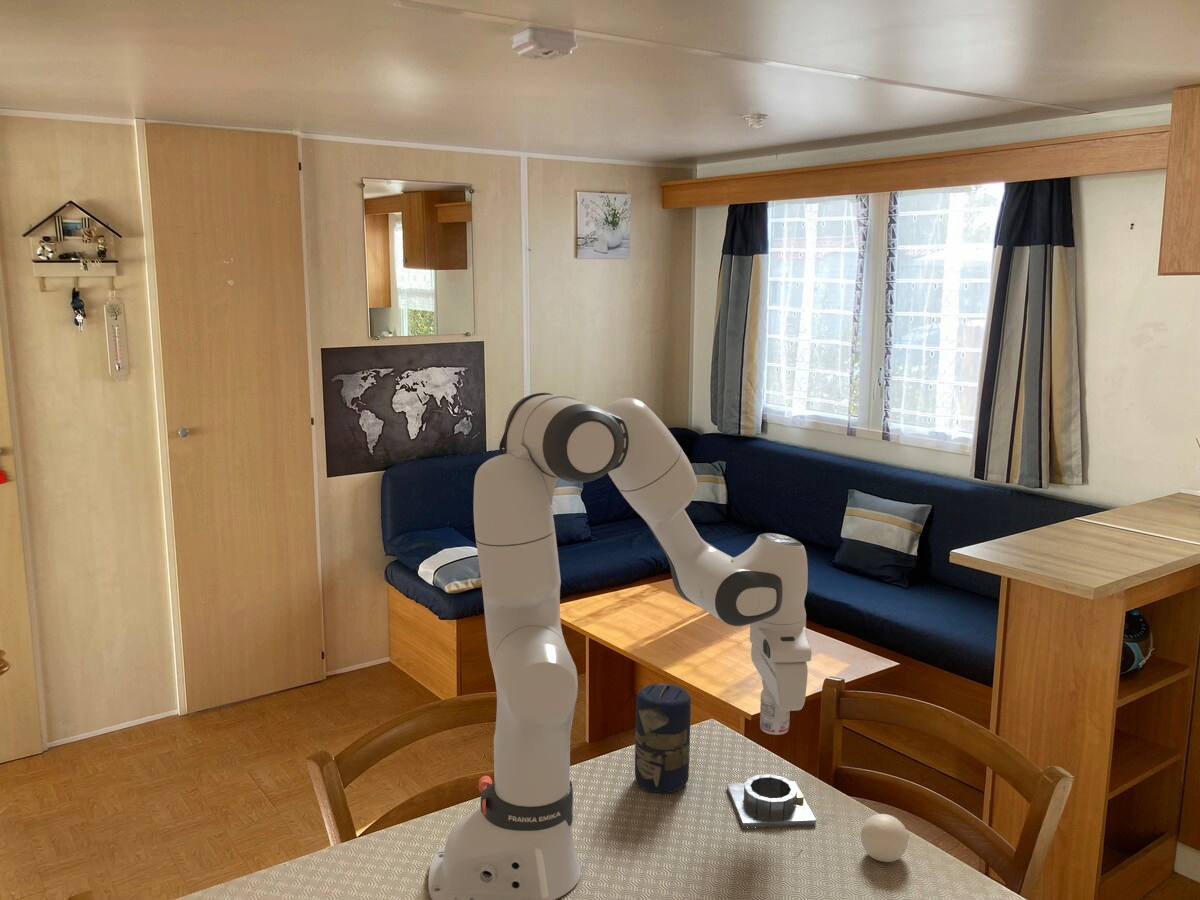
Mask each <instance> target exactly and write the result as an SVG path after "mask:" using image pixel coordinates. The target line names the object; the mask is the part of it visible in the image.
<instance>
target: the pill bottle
mask: <svg viewBox="0 0 1200 900" xmlns="http://www.w3.org/2000/svg"><path fill="white" fill-rule="evenodd" d="M775 703H776V702H775V700H774V698H773V696H772V694H771V693H770V691H769V689H768V688H767V686H766V683H765V681H764V680H763V684H762V690H761V692H760V708H759V710H760V711H759V728H760V729H761V731H762V732H764V733H765V734H768V735H774V736H777V735H779V736H780V735H784V734H786V733H788V731H789V729H790V712H791V711H787V712H786V721H784V722H777V721H775V719H774V717H773V708H775Z"/></svg>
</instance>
